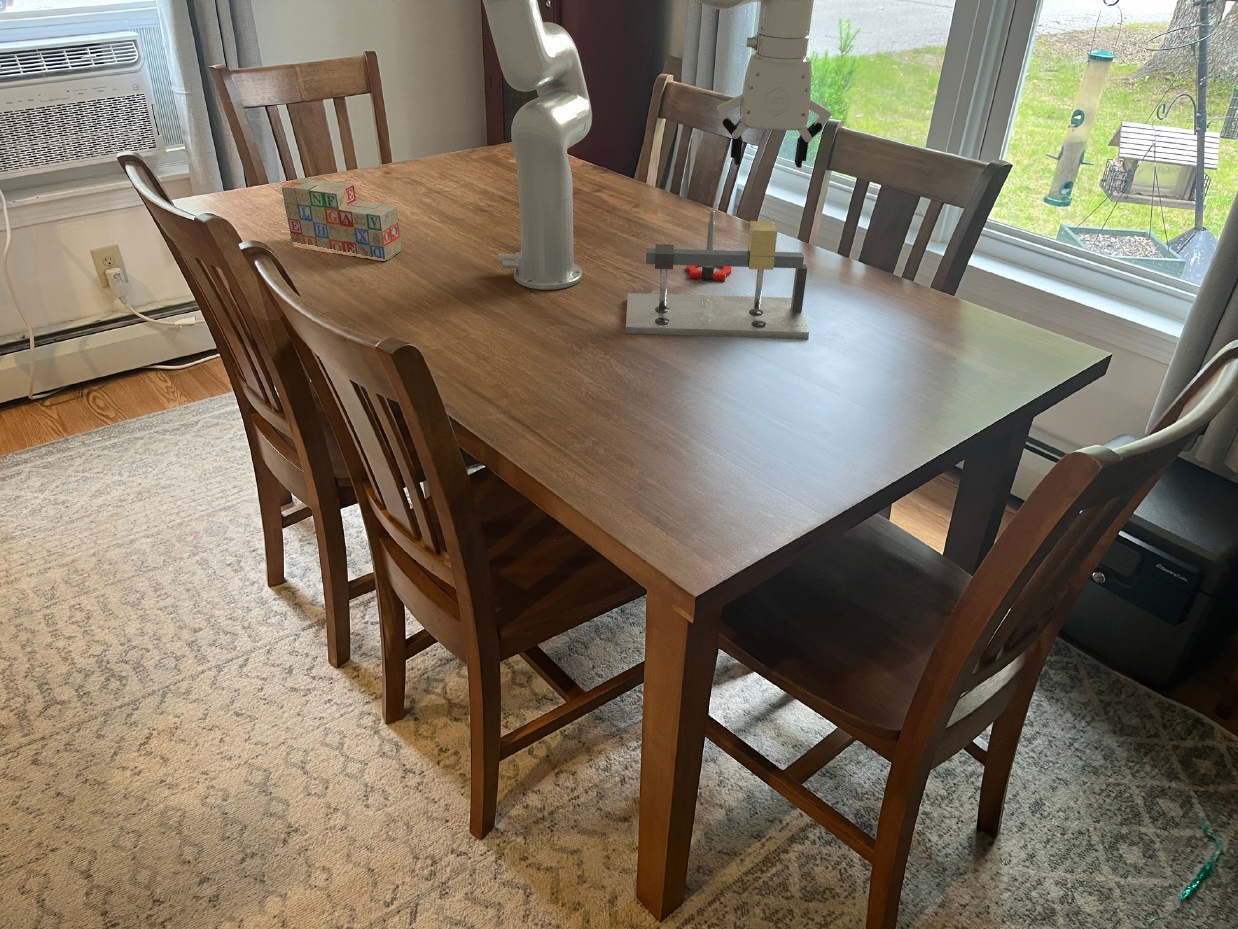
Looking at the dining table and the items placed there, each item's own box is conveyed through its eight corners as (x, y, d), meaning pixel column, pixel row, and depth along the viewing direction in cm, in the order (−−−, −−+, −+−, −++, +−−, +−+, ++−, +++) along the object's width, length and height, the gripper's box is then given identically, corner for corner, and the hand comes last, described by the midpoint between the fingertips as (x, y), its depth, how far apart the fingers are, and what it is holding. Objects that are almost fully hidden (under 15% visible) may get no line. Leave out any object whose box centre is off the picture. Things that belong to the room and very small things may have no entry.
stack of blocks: (403, 252, 187) (396, 189, 180) (385, 263, 182) (377, 199, 175) (310, 237, 193) (300, 176, 186) (291, 247, 188) (280, 185, 181)
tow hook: (688, 263, 185) (684, 279, 177) (693, 197, 178) (688, 210, 171) (732, 267, 184) (729, 283, 176) (738, 200, 178) (735, 213, 170)
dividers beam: (644, 310, 162) (646, 253, 157) (644, 299, 166) (646, 243, 160) (802, 315, 162) (810, 258, 156) (799, 304, 165) (806, 248, 160)
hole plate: (625, 333, 157) (625, 326, 157) (627, 299, 169) (627, 292, 168) (808, 338, 157) (809, 331, 156) (797, 304, 168) (798, 297, 168)
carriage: (745, 308, 161) (752, 230, 154) (743, 297, 165) (750, 221, 158) (768, 309, 161) (777, 231, 154) (766, 298, 165) (774, 221, 158)
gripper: (724, 49, 138) (713, 168, 147) (844, 55, 138) (825, 173, 147) (721, 40, 144) (711, 154, 154) (836, 45, 144) (818, 159, 154)
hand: (767, 163), depth 150 cm, fingers open, 9 cm apart
